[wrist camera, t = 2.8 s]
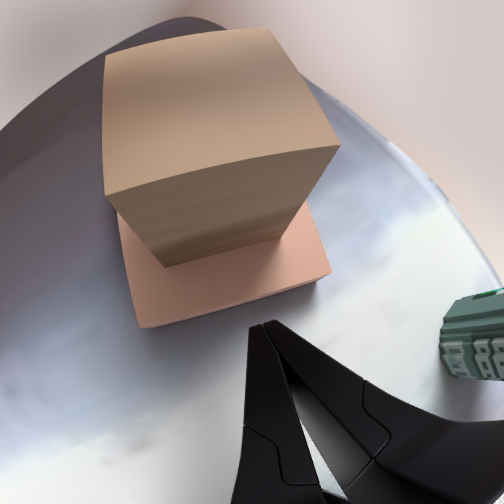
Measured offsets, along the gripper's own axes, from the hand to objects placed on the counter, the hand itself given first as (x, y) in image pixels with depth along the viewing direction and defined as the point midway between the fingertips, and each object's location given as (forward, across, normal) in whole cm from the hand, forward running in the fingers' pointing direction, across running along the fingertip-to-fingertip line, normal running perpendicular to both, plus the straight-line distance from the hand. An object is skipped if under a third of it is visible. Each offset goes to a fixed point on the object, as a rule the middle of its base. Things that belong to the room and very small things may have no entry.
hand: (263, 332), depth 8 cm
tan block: (+8, 0, -1) cm, 9 cm away
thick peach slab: (+10, 0, +1) cm, 10 cm away
